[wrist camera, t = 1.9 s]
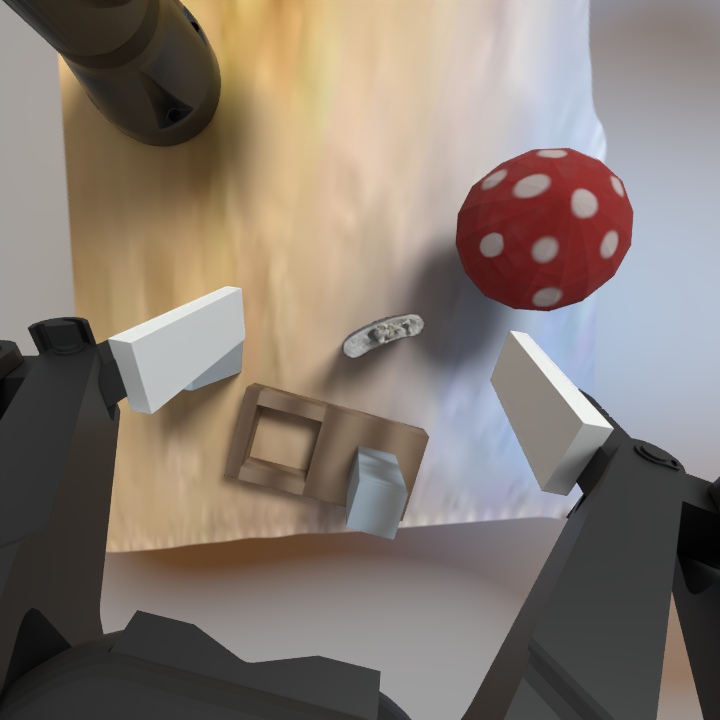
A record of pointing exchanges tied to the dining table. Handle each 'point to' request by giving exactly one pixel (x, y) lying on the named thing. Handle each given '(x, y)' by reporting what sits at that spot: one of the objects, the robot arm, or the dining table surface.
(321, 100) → the dining table surface
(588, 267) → the decorative mushroom
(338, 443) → the block insertion board
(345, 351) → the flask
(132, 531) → the dining table surface
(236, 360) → the gray rectangular block
